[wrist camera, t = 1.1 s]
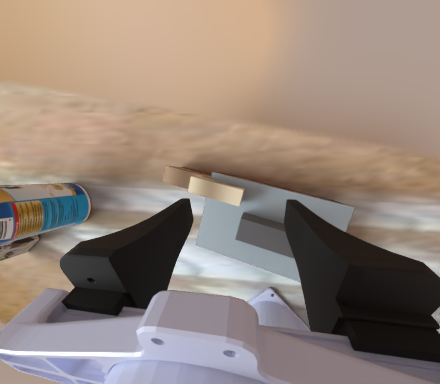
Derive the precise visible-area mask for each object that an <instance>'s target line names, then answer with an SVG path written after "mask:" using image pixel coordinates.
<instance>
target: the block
mask: <svg viewBox="0 0 440 384" xmlns="http://www.w3.org/2000/svg"><path fill="white" fill-rule="evenodd" d="M244 191H245V188H242V187H238V186H234V185H230V184H227V183H223V182H219V181H215V180H211V179H207V178H204V177H200V176H191V178H190V183H189V188H188V192H190V193H193V194H197V195H200V196H204V197H207V198H211V199H214V200H218V201H221V202H225V203H228V204H232V205H235V206H240V204H241V203H242V199H243V195H244Z"/></svg>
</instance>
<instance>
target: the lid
mask: <svg viewBox="0 0 440 384" xmlns="http://www.w3.org/2000/svg"><path fill="white" fill-rule="evenodd" d="M211 180H215V181H219V182H223V183H227V184H230V185H234V186H238V187H242V188H245V191H244V195H243V199H242V203H241V204H240V206H235V205H232V204H228V203H225V202H221V201H218V200H214V199H211V198H207V197H206V201H205V206H204V210H203V214H202V219H201V223H200V228H199V232H198V236H197V241H196V245H197V246H200V247H202V248H205V249H208V250H211V251H214V252H217V253H219V254H222V255H225V256H228V257H231V258H234V259H236V260H239V261H242V262H245V263H248V264H250V265H253V266H256V267H259V268H262V269H265V270H267V271H270V272H273V273H276V274H279V275H282V276H284V277H287V278H290V279H293V280H296V281H298V282H301V281H300V277H299V272H298V268H297V265H296V262H295V259H294V256H293V253H292V250H291V247H290V245H289V242H288V239H287V236H286V232H285V227H284V217H285V209H286V201H287V199H296V200H298V201H299V202H300V203H302V204H303V205H304V206H306V207H307V208H308V209H310V210H311V211H312V212H314V213H315V214H316V215H318V216H319V217H321V218H322V219H324V220H325V221H327V222H328V223H330V224H332V225H333V226H335V227H337V228H339V229H340V230H342V231H344V232H346V230H347V227H348V224H349V222H350V219H351V216H352V214H353V211H354V207H351V206H348V205H344V204H340V203H336V202H332V201H328V200H324V199H320V198H316V197H312V196H308V195H304V194H300V193H296V192H292V191H288V190H284V189H280V188H276V187H272V186H268V185H264V184H260V183H256V182H252V181H248V180H244V179H240V178H236V177H232V176H228V175H224V174H220V173H216V172H212V175H211Z"/></svg>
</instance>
